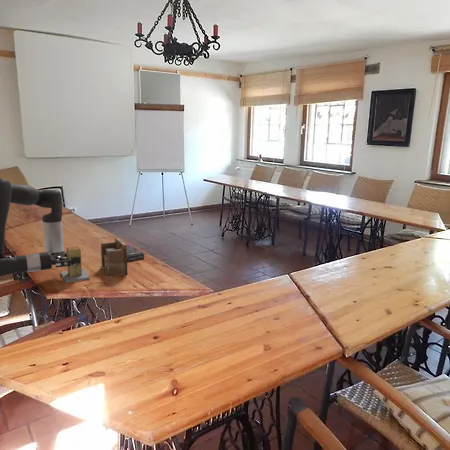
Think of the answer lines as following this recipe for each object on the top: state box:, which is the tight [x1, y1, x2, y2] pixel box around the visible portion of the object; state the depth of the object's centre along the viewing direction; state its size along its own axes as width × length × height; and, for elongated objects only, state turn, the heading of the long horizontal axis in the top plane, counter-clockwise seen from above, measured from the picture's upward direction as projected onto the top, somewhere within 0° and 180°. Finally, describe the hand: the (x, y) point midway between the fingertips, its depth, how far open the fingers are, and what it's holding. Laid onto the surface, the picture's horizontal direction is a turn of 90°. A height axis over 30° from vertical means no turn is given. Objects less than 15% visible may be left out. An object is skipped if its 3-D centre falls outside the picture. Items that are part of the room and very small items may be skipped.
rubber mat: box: [60, 268, 91, 284], centre depth 178 cm, size 12×10×1 cm
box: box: [126, 244, 145, 263], centre depth 209 cm, size 14×4×20 cm
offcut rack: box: [100, 237, 128, 278], centre depth 185 cm, size 14×8×14 cm, turn 30°
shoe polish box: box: [65, 246, 83, 277], centre depth 177 cm, size 5×5×12 cm
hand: (78, 256), depth 177 cm, fingers open, 8 cm apart
